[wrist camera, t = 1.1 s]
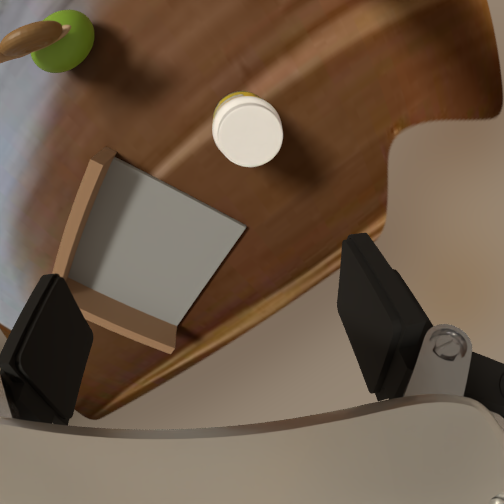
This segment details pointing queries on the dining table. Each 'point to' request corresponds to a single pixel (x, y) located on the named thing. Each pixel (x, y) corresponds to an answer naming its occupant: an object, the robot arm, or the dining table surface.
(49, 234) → the dining table surface
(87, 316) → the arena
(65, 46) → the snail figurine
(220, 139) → the supplement bottle
